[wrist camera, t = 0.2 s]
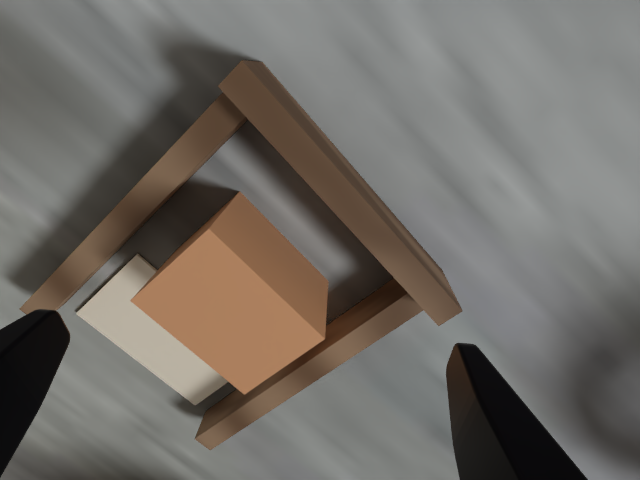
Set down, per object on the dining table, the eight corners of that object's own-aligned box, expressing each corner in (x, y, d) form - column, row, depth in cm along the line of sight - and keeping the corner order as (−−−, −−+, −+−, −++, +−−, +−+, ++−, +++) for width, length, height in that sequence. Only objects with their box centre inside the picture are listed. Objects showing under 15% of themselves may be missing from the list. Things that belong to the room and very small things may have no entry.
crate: (264, 328, 27) (244, 394, 22) (176, 249, 25) (130, 300, 20) (328, 280, 25) (325, 339, 20) (240, 190, 23) (208, 228, 18)
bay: (219, 422, 31) (201, 476, 27) (47, 288, 27) (-7, 328, 22) (442, 270, 24) (462, 310, 20) (262, 61, 20) (241, 60, 16)
